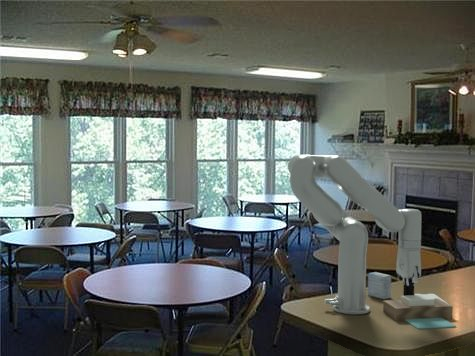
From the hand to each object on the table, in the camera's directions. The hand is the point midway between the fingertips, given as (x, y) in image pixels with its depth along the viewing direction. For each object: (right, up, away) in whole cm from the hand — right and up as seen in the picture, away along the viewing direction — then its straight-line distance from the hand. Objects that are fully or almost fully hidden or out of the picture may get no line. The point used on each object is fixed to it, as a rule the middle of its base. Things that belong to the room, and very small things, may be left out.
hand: (408, 296), depth 199 cm
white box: (+1, -1, -7) cm, 7 cm away
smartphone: (+12, -5, +10) cm, 16 cm away
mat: (+2, -6, -16) cm, 17 cm away
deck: (+1, -5, -6) cm, 8 cm away
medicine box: (-6, -4, +18) cm, 19 cm away
